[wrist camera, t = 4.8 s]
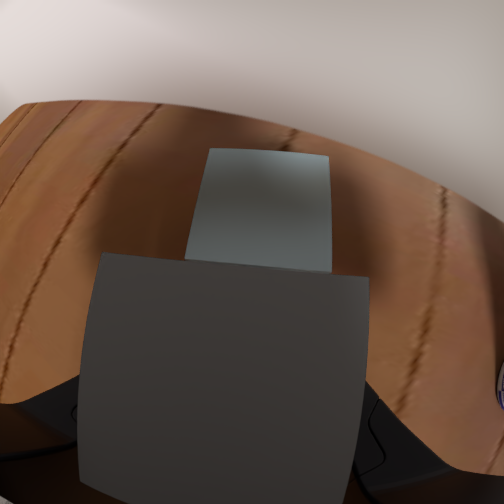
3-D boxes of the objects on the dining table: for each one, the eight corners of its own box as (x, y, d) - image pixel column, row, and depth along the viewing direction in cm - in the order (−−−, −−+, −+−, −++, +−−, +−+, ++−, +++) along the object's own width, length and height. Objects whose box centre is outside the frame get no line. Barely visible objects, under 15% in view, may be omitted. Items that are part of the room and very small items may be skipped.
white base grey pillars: (314, 405, 12) (456, 518, 1) (182, 390, 13) (-6, 443, 2) (325, 215, 16) (387, 30, 5) (211, 206, 17) (156, 21, 6)
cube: (308, 300, 14) (331, 271, 9) (210, 291, 14) (184, 258, 9) (311, 213, 15) (328, 156, 11) (224, 206, 16) (210, 148, 11)
